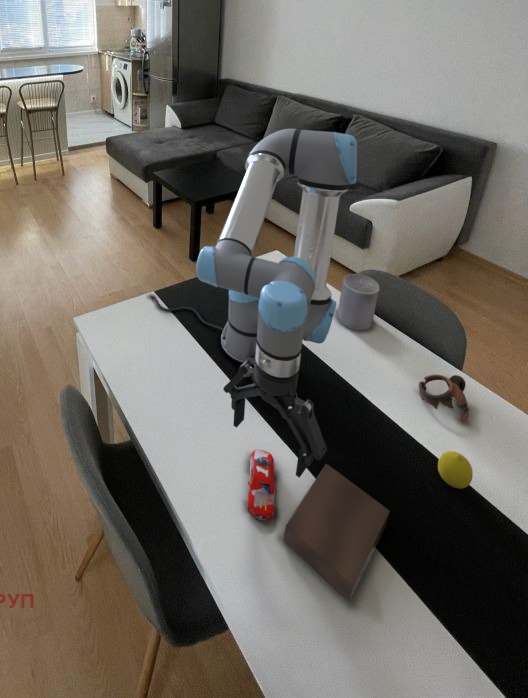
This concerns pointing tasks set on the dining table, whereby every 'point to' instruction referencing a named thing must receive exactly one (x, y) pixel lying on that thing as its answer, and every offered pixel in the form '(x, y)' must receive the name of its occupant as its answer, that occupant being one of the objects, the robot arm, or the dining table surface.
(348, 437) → the dining table surface
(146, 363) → the dining table surface
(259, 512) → the race car
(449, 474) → the lemon
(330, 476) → the walnut step
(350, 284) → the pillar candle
